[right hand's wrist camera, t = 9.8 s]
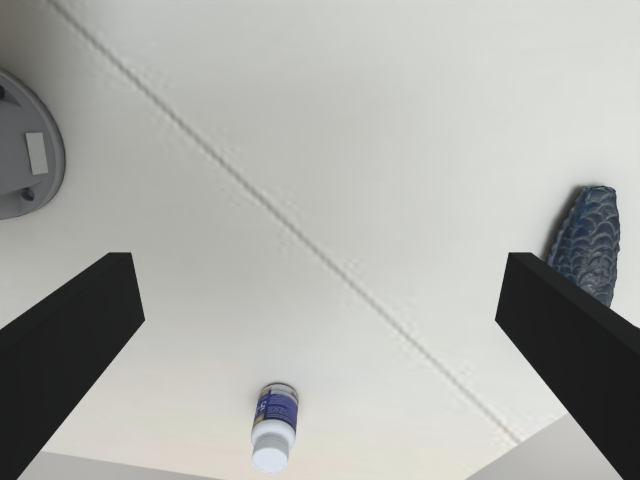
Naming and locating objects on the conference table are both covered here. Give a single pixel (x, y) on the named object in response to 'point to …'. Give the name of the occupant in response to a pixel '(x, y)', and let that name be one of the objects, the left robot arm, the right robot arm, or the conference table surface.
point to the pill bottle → (274, 428)
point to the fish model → (589, 243)
